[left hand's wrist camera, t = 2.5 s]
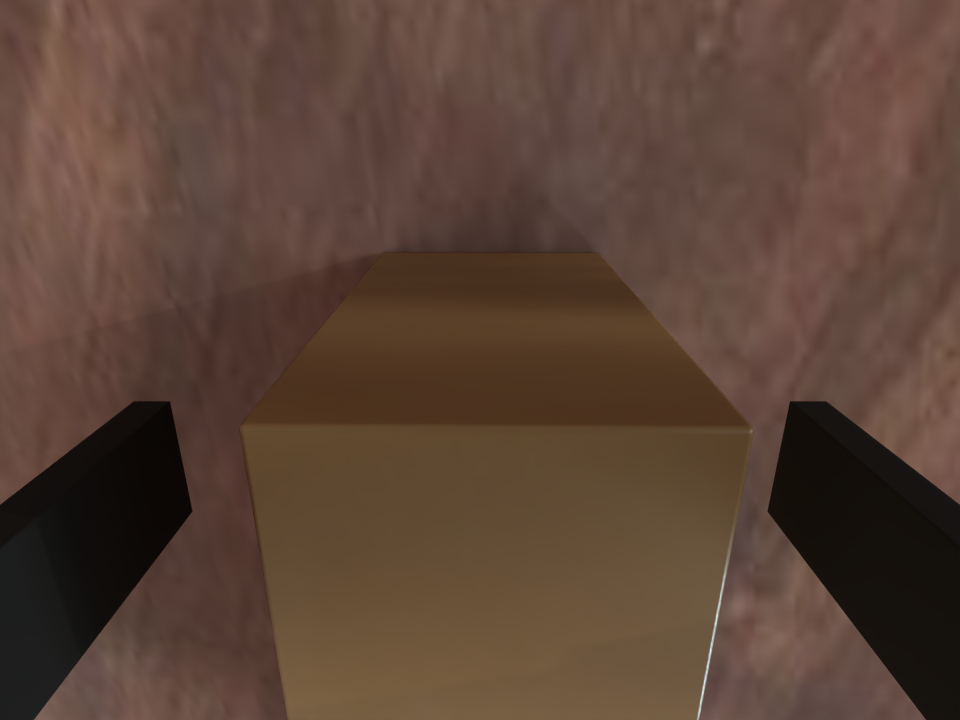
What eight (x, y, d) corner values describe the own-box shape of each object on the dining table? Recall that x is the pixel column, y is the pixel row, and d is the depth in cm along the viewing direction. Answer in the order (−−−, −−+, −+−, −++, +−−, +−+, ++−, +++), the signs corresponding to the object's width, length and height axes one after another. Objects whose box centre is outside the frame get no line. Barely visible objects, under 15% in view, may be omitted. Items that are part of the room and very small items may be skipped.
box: (381, 251, 16) (235, 425, 7) (599, 251, 16) (756, 428, 7) (414, 795, 25) (369, 1216, 15) (559, 797, 25) (605, 1220, 15)
